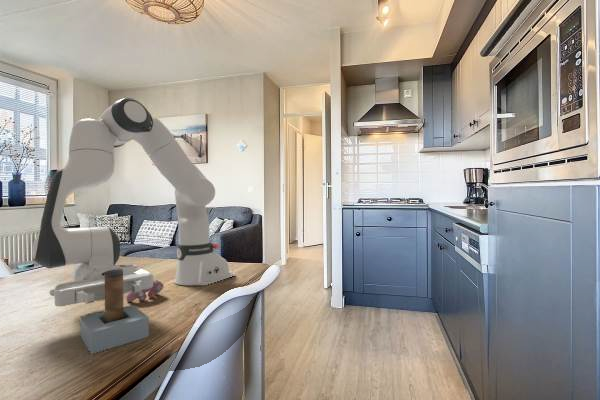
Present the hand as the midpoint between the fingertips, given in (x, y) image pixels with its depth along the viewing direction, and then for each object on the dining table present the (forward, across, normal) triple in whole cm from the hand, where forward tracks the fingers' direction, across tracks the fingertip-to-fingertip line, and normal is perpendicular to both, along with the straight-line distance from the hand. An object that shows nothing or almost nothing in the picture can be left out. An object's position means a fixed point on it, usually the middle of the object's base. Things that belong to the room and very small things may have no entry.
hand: (115, 294), depth 68 cm
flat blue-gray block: (-1, 0, +10) cm, 10 cm away
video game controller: (-23, +14, +10) cm, 29 cm away
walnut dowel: (-1, 0, +10) cm, 10 cm away
